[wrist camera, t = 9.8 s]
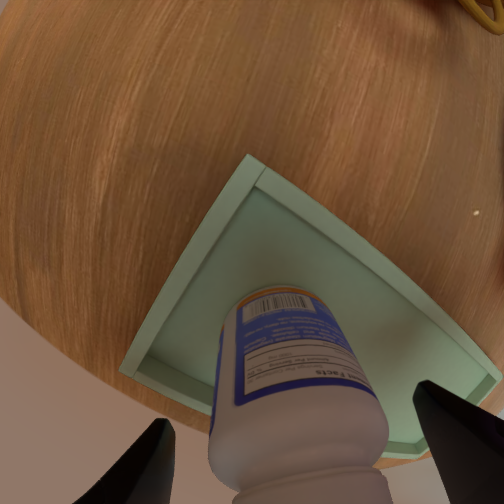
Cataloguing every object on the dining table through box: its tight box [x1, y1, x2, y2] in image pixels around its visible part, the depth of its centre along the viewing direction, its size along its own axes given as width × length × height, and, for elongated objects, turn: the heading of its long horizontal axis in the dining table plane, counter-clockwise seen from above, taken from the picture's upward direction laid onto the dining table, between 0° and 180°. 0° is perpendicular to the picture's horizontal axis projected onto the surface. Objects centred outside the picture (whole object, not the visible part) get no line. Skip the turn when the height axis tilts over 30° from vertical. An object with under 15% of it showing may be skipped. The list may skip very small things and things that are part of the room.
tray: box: [118, 154, 504, 459], centre depth 14 cm, size 28×12×2 cm, turn 56°
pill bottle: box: [208, 285, 393, 504], centre depth 8 cm, size 5×5×10 cm
